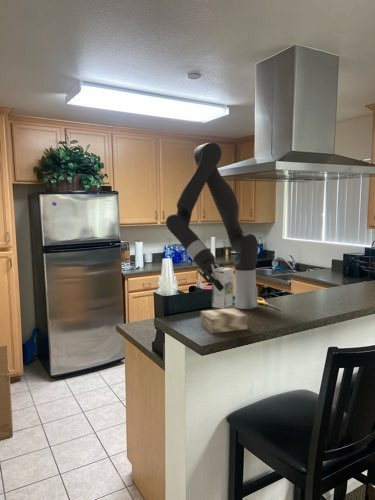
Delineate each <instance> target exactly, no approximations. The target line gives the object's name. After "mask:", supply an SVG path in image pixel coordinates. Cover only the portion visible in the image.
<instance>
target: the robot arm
mask: <svg viewBox="0 0 375 500" xmlns="http://www.w3.org/2000/svg"><path fill="white" fill-rule="evenodd" d="M222 153H223V151H222V148H221V146H220V145H219V144H218V143H216V142H207V143H204V144H201V145H198V146H197V147H195V149H194V153H193V158H194V162H195V164H196V166H197V168H196V170H195V172H194V173H193V174H192V176H191V178H190V179H189V180H188V182H186V185H185V186H184V188H183V189H182V191H181V193H180V196H179V198H178V200H177V202H176V208H177V212H176V213H171V214H169V215H168V216H167V217H166V221H165V224H166V227H167V229H168V230H169V231H170V233H171V234H172V235H173V236H174V237H175V238H176V239H177V240H178V241H179V243H180V244H181V246H182V247H183V248H184V250H185V251H186V253H187V255H188V256H189V257H190V259H191V260H192V262H194V264H195V265H196V267H197V268H198V269H199V270H198V272H197V273H198V274H199V275H200V276H201V277H202V278H203V279H204V281H205V282H207V284H210V283H211V285H212V284H214V285H215V287H216V288H217V289H218V290H219V291H221V290H222V289H223V288H224V287H223V285H222V284H221V283H220V282H219V280H217V277H216V276H215V273H214V271H212V269H216V268H220V267H225V265H224V264H223V263H221V262H220V264H218V263H217V262H216V261H215V259H216V258H215V255H214V254H213V253H212V251H210V249H209V248H208V247H207V246H206V244H205V243H204V242H203V241H202V240H201V239H200V237H199V236H198V235H197V234H196V232H194V230H192V229H191V228H190V222H191V219H192V213H193V210H194V208H195V206H196V204H197V202H198V200H199V197H200V195H201V193H202V191H203V189H204V187H205V185H207V187H208V190H209V193H210V195H211V197H212V199H213V201H214V202H213V203H214V204H215V207H216V209H217V211H218V213H219V216H220V218H221V221H222V222H223V226H224V228H225V230H226V234H227V236H228V241H229V244H230V246H231V249H232V250H233V252H234V253H236V254H240V259H239V260H238V261H236V262H235V263H234V303H235V306H234V308H235V309H238V310H239V309H240V310H253V309H255V308H258V304H259V303H258V302H259V301H258V300H259V299H258V297H259V296H258V285H257V284H256V282H257V281H256V279H257V278H256V275H257V274H256V268H257V263H258V255H259V244H258V238H257V237H256V235H254V234H252V233H244V231H243V229H242V227H241V225H240V222H239V213H240V212H239V209H240V208H239V206H240V205H239V203H238V199H237V197H236V195H235V192H234V190H233V189H232V187H231V186H230V184H229V183H228V182H227V181H226V179H225V178H223V175H221V173H220V171H219V169H218V166H217V165H218V164H219V162H221V161H220V160H221V158H222Z"/></svg>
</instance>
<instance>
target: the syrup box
mask: <svg viewBox="0 0 375 500" xmlns="http://www.w3.org/2000/svg"><path fill="white" fill-rule="evenodd" d="M212 271H214V273H215V276H216V277H217V280H219V282H220V283H221V284H222V285H223V287H224V288H223V289H222V290H221V291H219V290H218V289H217V288H216V287H215V285H214V284H212V283H211V307H212V308H216V309H227V308H232V307H233V302H234V295H233V294H234V291H233V290H234V269H233V268H232V267H225V266H224V267H220V268H216V269H212Z"/></svg>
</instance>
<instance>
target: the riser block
mask: <svg viewBox="0 0 375 500" xmlns="http://www.w3.org/2000/svg"><path fill="white" fill-rule="evenodd" d="M200 325H201V326H203V327H204V328H205V329H206V330H207V331H208V332H209V333H210V334H217V333H224V332H226V333H227V332H233V331H240V330H241V331H242V330H248V315H247V314H245V313H244V312H242V311H240V310H239V309H238V308H236V307H228V308H225V309H222V308H217V309H211V310H210V309H209V310H208V309H207V310H201V311H200Z"/></svg>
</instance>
